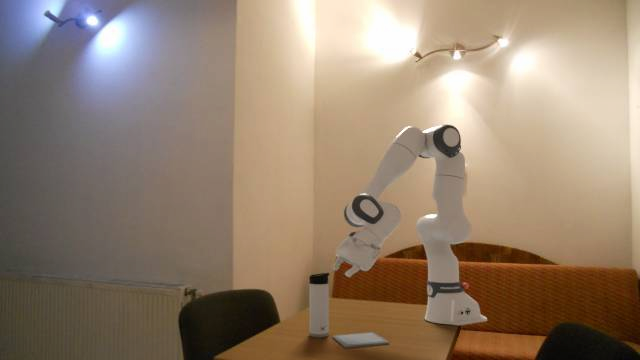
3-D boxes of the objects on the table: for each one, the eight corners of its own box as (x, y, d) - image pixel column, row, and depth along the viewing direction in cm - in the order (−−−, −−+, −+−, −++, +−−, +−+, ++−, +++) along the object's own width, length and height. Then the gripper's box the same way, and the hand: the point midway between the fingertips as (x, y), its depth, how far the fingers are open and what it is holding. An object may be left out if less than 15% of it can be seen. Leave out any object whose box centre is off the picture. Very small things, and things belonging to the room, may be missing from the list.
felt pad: (372, 334, 149) (372, 331, 149) (389, 343, 138) (389, 341, 138) (332, 337, 145) (332, 335, 145) (345, 348, 134) (345, 345, 134)
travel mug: (327, 338, 144) (327, 274, 146) (307, 337, 146) (307, 273, 147) (331, 333, 150) (330, 271, 152) (311, 332, 152) (311, 271, 153)
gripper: (388, 255, 150) (360, 286, 146) (357, 243, 168) (332, 271, 165) (377, 242, 148) (349, 273, 144) (347, 231, 166) (322, 259, 163)
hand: (340, 272), depth 155 cm, fingers open, 8 cm apart
